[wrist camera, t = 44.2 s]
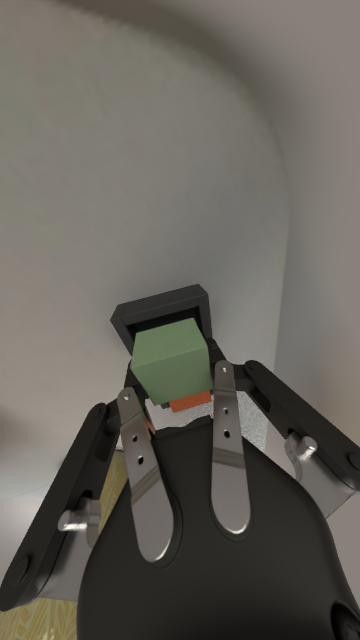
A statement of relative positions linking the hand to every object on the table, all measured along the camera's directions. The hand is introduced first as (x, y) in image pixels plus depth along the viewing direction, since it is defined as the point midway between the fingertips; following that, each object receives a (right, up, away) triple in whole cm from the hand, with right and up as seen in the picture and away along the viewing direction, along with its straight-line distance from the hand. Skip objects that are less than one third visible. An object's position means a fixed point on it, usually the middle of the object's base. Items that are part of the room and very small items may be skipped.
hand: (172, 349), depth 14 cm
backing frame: (0, -1, +5) cm, 6 cm away
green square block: (0, 0, 0) cm, 0 cm away
